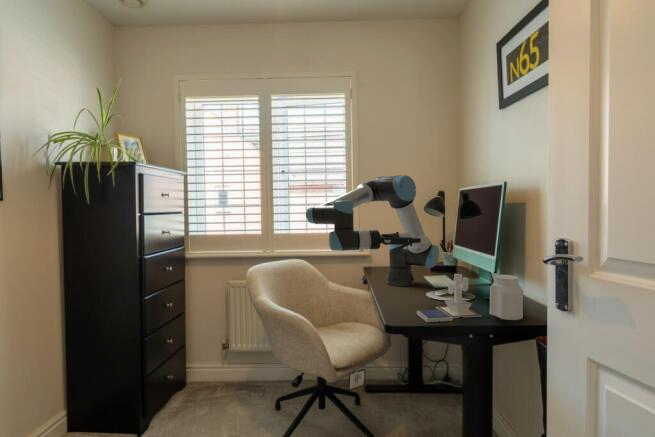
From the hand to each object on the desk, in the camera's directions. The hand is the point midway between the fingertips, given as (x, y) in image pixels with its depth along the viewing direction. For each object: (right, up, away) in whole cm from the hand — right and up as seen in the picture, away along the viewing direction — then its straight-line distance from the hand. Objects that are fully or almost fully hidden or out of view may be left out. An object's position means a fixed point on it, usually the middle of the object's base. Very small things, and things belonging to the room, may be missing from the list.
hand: (421, 237), depth 142 cm
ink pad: (+4, -30, -6) cm, 31 cm away
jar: (+32, -30, -5) cm, 44 cm away
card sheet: (+15, -30, 0) cm, 33 cm away
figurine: (+15, -30, 0) cm, 33 cm away
